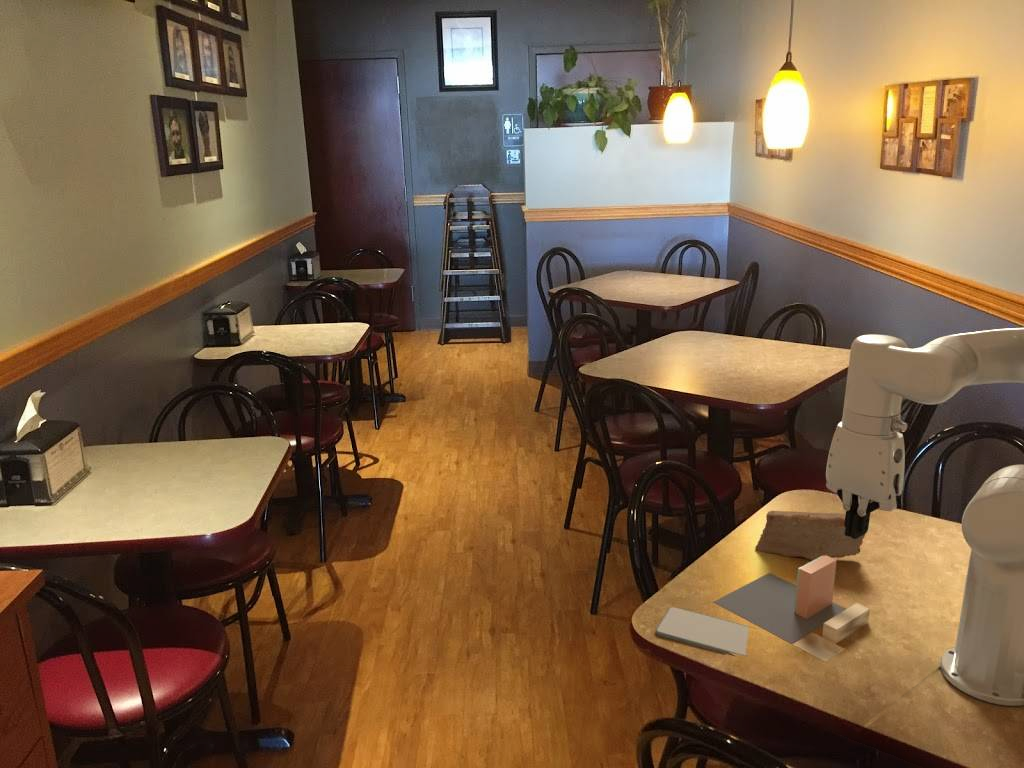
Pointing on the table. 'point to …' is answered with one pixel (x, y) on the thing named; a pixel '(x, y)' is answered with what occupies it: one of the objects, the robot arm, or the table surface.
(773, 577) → the mat
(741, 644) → the smartphone
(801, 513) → the stone
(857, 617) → the turner
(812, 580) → the tile
